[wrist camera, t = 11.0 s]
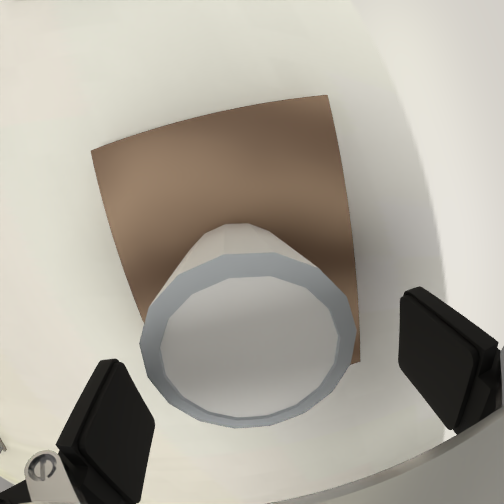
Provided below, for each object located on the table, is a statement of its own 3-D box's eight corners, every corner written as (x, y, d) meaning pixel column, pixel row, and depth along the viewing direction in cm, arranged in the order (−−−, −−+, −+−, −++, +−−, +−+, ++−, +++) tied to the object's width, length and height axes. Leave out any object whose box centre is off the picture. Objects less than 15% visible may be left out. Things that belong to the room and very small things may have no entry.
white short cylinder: (292, 196, 15) (349, 226, 8) (311, 318, 17) (358, 402, 10) (154, 228, 14) (104, 283, 8) (192, 345, 16) (183, 441, 10)
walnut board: (352, 349, 19) (360, 361, 18) (183, 388, 19) (181, 403, 18) (318, 100, 15) (327, 94, 13) (101, 151, 14) (90, 150, 13)
